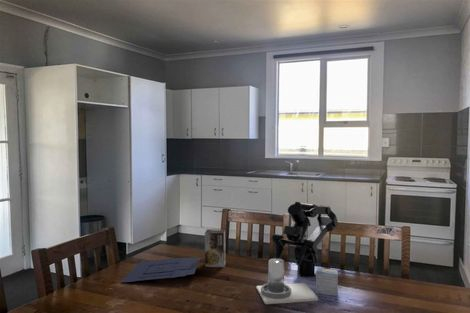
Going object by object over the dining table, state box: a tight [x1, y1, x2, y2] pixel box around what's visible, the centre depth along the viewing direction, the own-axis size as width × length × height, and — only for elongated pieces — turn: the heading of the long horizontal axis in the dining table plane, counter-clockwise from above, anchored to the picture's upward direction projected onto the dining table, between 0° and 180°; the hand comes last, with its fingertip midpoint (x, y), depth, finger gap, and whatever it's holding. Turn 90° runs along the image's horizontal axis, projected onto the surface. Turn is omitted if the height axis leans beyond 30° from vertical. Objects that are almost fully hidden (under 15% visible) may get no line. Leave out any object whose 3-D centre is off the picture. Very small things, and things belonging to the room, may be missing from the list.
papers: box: [120, 257, 202, 284], centre depth 159 cm, size 24×30×4 cm
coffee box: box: [204, 228, 227, 268], centre depth 170 cm, size 9×6×16 cm
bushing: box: [266, 258, 287, 294], centre depth 138 cm, size 8×8×12 cm
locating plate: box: [255, 282, 319, 305], centre depth 139 cm, size 20×14×2 cm
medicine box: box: [315, 267, 339, 297], centre depth 140 cm, size 8×4×9 cm, turn 71°
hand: (286, 262), depth 144 cm, fingers open, 9 cm apart
